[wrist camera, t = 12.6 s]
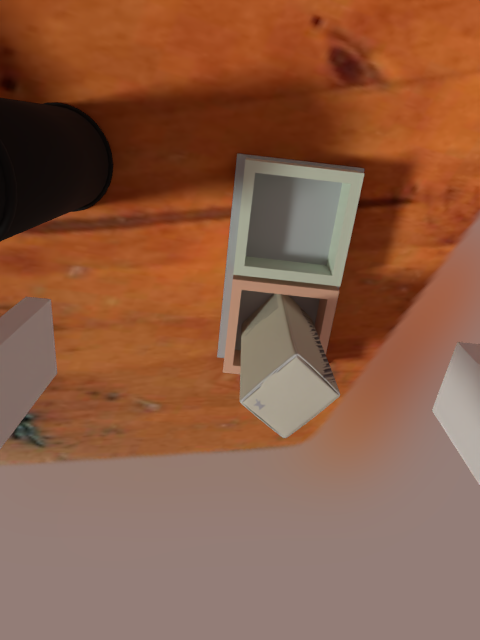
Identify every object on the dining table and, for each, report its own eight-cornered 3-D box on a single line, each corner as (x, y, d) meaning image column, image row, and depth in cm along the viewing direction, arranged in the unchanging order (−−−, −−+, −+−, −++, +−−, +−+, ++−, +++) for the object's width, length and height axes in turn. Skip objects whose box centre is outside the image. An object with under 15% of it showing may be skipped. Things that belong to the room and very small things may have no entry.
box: (272, 353, 40) (282, 445, 28) (239, 322, 39) (234, 404, 27) (315, 316, 38) (344, 397, 26) (282, 283, 37) (296, 352, 25)
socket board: (237, 153, 34) (235, 155, 30) (361, 167, 34) (374, 171, 30) (217, 352, 41) (214, 373, 37) (320, 363, 41) (327, 385, 38)
